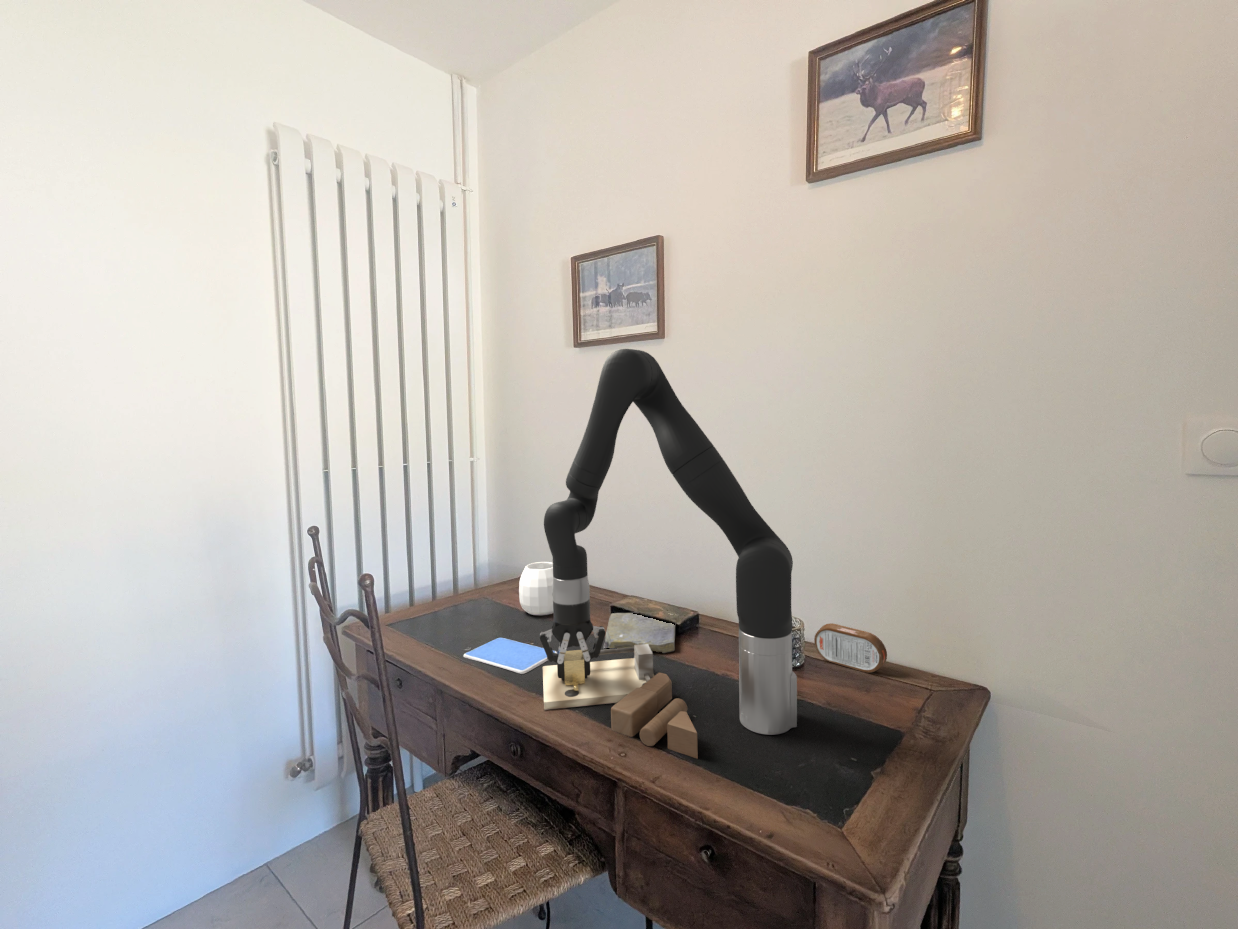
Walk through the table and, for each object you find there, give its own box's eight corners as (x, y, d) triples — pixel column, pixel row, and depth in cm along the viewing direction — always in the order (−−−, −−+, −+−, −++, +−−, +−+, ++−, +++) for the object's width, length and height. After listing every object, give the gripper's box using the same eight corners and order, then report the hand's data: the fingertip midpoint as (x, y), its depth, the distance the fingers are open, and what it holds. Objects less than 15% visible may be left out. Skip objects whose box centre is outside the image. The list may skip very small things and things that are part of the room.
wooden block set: (606, 704, 100) (657, 665, 115) (607, 735, 101) (657, 692, 116) (694, 731, 91) (736, 685, 106) (694, 764, 92) (736, 714, 107)
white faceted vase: (563, 619, 158) (561, 571, 157) (515, 620, 158) (513, 572, 157) (567, 603, 171) (566, 559, 170) (524, 604, 171) (522, 560, 170)
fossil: (601, 659, 134) (675, 656, 132) (600, 640, 134) (673, 636, 132) (612, 629, 154) (676, 626, 152) (610, 613, 154) (674, 609, 152)
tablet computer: (461, 659, 135) (461, 653, 135) (499, 640, 145) (499, 635, 145) (522, 677, 124) (522, 671, 124) (559, 656, 135) (559, 650, 135)
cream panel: (646, 663, 128) (645, 634, 128) (661, 698, 112) (660, 664, 112) (542, 672, 125) (541, 642, 124) (544, 709, 109) (542, 675, 109)
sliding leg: (582, 672, 120) (582, 649, 120) (586, 691, 112) (585, 667, 112) (563, 674, 120) (563, 651, 119) (566, 693, 112) (565, 669, 111)
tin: (887, 673, 120) (887, 635, 120) (882, 679, 118) (882, 639, 117) (818, 654, 131) (818, 618, 130) (812, 659, 128) (812, 622, 128)
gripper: (536, 605, 112) (539, 690, 113) (608, 600, 114) (610, 683, 115) (536, 594, 119) (539, 673, 120) (603, 589, 121) (606, 667, 122)
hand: (574, 677), depth 118 cm, fingers closed on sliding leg, 4 cm apart
